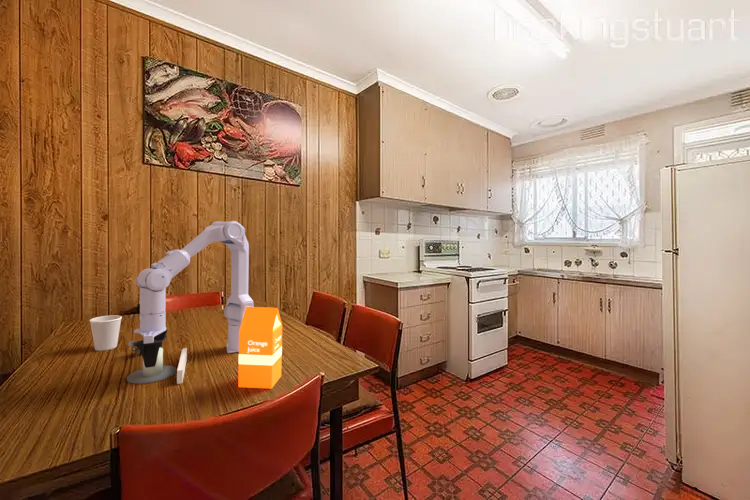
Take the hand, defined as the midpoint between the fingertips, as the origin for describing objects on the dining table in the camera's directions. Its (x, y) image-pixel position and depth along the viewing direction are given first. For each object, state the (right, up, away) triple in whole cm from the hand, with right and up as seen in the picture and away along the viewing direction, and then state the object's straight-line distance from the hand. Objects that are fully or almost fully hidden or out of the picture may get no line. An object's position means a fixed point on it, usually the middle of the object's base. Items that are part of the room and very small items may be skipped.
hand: (152, 361), depth 85 cm
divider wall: (+6, -4, +3) cm, 8 cm away
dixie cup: (-30, -3, +19) cm, 36 cm away
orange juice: (+30, -5, -2) cm, 31 cm away
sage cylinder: (0, -3, 0) cm, 3 cm away
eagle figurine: (-13, -3, +16) cm, 21 cm away
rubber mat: (0, -4, 0) cm, 4 cm away
